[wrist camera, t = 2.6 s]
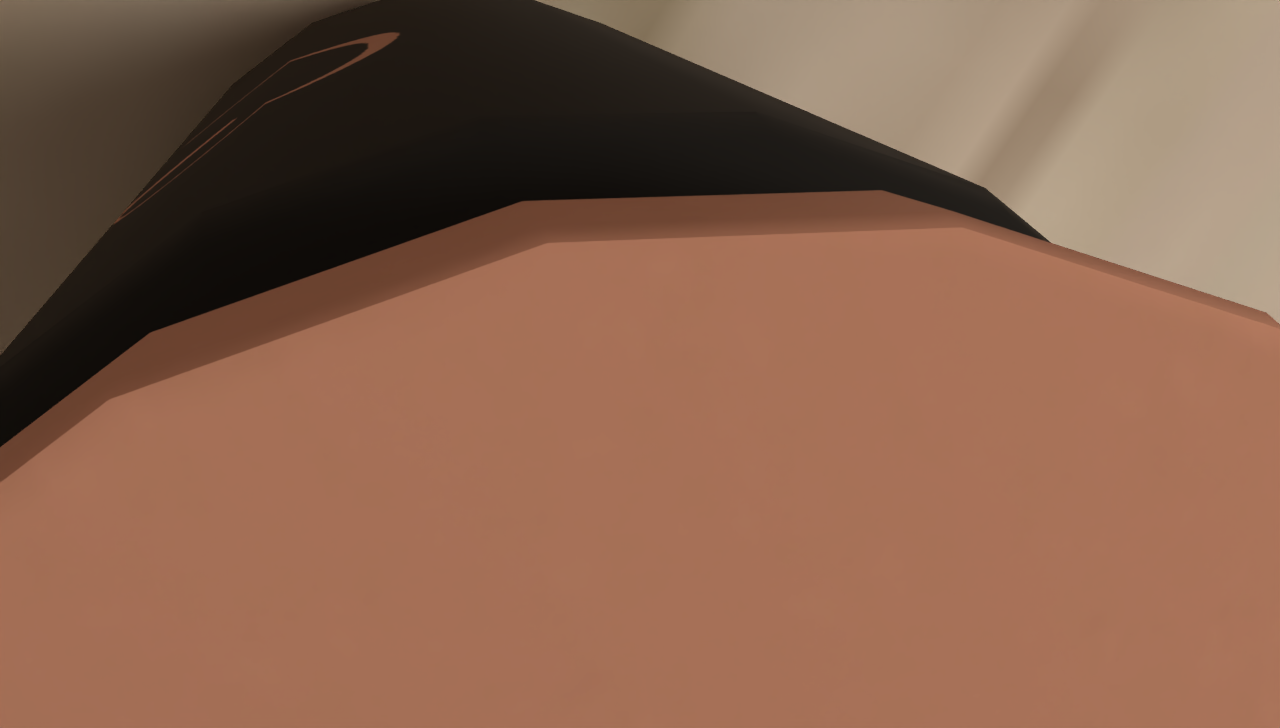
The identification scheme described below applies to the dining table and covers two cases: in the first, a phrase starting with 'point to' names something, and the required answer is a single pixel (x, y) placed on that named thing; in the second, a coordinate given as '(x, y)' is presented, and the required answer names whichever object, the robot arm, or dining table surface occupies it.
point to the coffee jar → (616, 422)
